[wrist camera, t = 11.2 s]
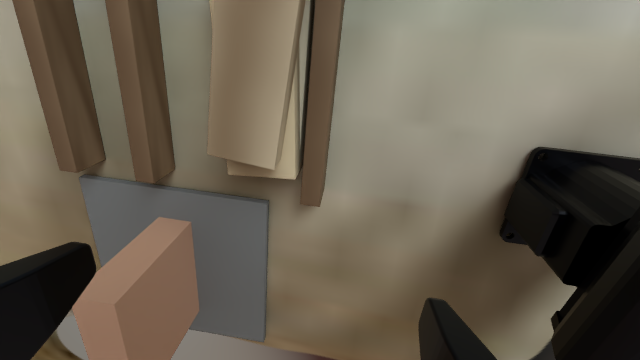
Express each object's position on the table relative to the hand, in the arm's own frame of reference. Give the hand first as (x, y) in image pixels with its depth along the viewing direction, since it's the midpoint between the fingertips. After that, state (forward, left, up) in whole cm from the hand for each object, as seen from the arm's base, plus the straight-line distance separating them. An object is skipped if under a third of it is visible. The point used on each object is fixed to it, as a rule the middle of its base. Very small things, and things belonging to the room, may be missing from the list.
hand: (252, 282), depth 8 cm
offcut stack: (+3, -4, -13) cm, 14 cm away
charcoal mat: (+10, +12, -13) cm, 20 cm away
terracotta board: (+10, +12, -12) cm, 20 cm away
